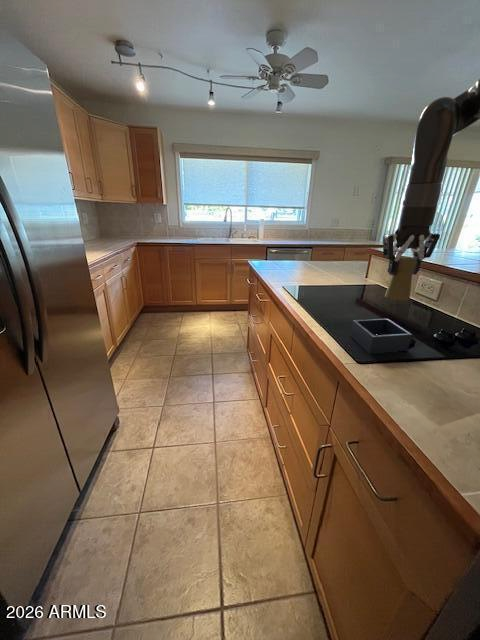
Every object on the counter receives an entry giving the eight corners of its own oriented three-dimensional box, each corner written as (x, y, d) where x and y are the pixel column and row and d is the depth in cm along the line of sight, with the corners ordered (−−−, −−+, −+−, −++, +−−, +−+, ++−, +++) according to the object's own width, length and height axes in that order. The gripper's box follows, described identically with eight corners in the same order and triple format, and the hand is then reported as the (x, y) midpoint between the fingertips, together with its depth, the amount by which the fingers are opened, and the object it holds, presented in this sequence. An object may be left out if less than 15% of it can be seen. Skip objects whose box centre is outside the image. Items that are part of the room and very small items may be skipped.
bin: (383, 333, 86) (387, 318, 84) (407, 351, 76) (412, 334, 73) (350, 336, 85) (352, 320, 83) (369, 354, 75) (373, 337, 73)
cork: (379, 295, 74) (387, 255, 70) (396, 292, 76) (405, 254, 71) (397, 301, 69) (407, 259, 64) (415, 299, 70) (426, 257, 66)
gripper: (400, 205, 59) (385, 279, 66) (459, 204, 60) (438, 276, 67) (381, 205, 66) (369, 272, 73) (434, 204, 67) (417, 270, 74)
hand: (402, 274), depth 70 cm, fingers closed on cork, 5 cm apart
